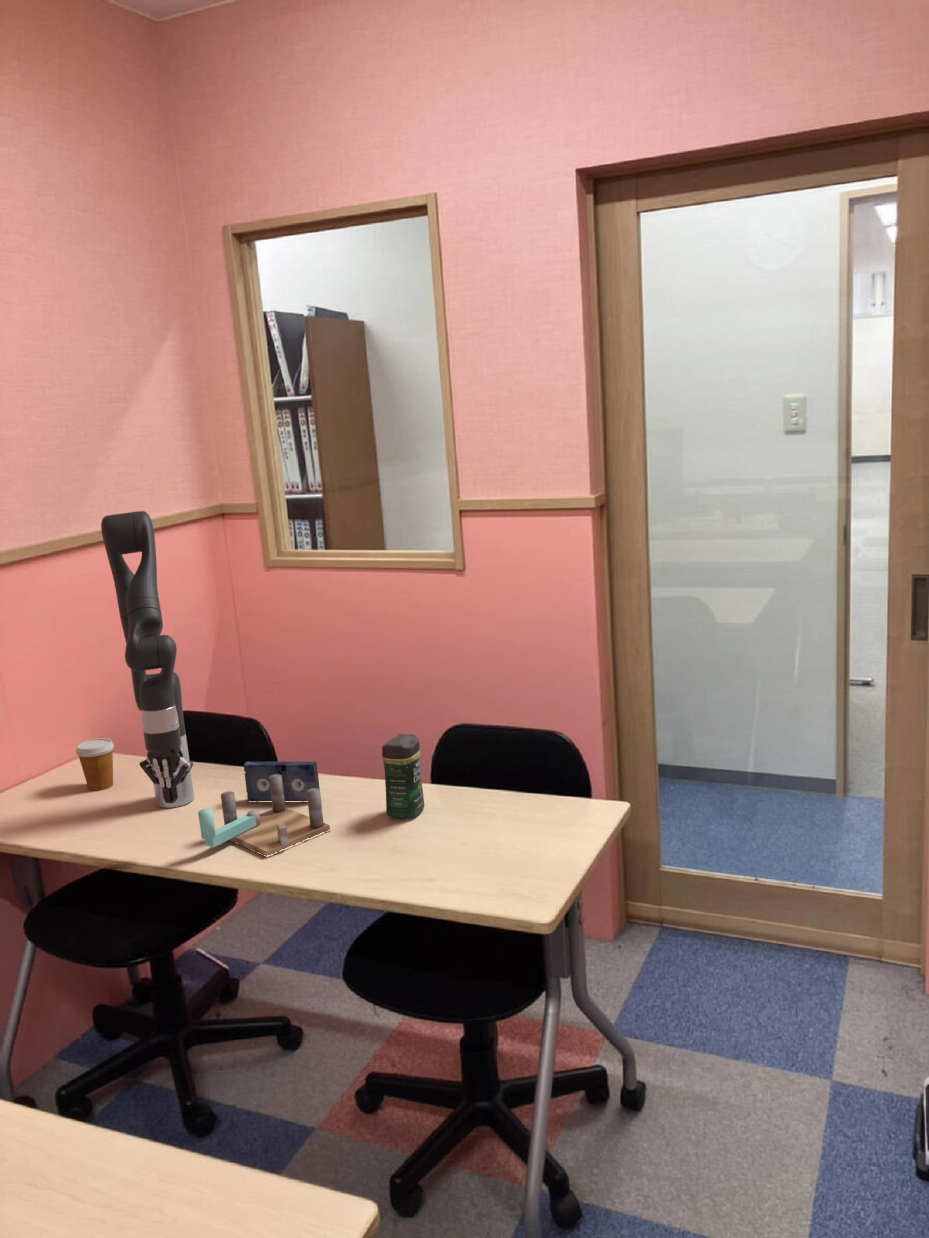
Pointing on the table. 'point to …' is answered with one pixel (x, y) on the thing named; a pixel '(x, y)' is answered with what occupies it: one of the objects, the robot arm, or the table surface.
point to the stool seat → (278, 821)
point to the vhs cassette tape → (293, 778)
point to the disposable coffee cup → (97, 763)
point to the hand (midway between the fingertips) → (171, 801)
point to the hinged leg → (225, 827)
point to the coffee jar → (403, 777)
